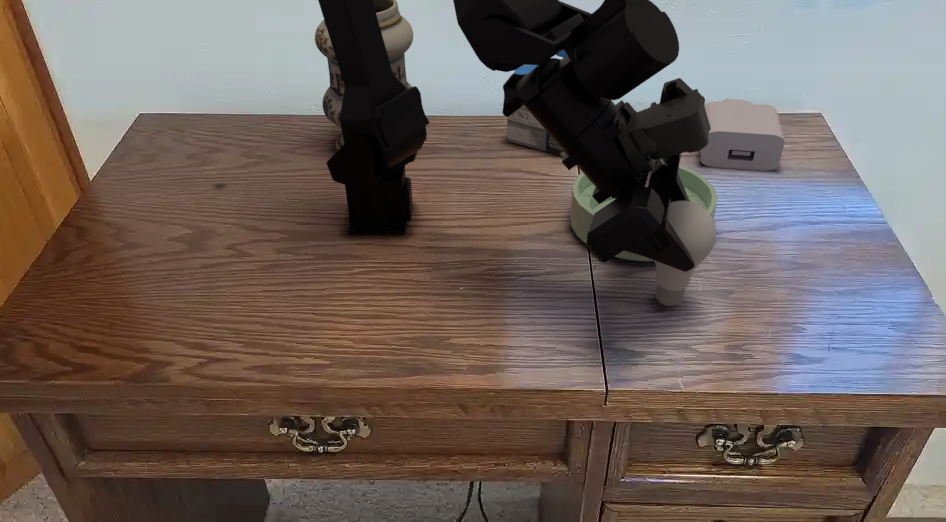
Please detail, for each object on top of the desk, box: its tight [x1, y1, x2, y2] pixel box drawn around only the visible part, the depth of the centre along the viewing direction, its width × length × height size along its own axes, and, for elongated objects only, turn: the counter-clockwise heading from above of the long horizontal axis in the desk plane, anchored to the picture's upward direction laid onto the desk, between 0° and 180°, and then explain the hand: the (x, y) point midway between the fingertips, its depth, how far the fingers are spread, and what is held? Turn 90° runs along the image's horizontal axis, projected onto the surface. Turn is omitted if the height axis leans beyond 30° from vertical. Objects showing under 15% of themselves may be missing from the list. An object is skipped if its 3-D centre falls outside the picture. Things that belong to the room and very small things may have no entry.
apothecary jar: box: [314, 0, 414, 151], centre depth 99 cm, size 12×12×18 cm
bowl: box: [569, 164, 718, 262], centre depth 87 cm, size 15×15×4 cm
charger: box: [699, 98, 785, 172], centre depth 102 cm, size 5×9×15 cm
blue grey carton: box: [506, 50, 567, 157], centre depth 100 cm, size 9×4×12 cm, turn 58°
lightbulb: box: [654, 201, 717, 307], centre depth 74 cm, size 6×6×11 cm
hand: (693, 249), depth 73 cm, fingers closed on lightbulb, 6 cm apart
